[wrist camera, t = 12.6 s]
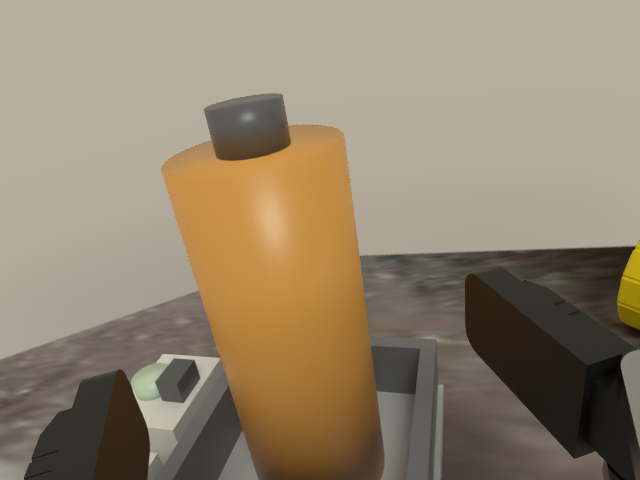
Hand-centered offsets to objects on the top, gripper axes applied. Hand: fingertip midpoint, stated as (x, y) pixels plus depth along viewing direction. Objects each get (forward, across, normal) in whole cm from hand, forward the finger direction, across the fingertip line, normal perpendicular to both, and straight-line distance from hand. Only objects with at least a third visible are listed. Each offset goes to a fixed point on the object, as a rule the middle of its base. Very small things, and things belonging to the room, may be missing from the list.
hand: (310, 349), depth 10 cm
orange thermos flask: (+4, 0, +8) cm, 9 cm away
